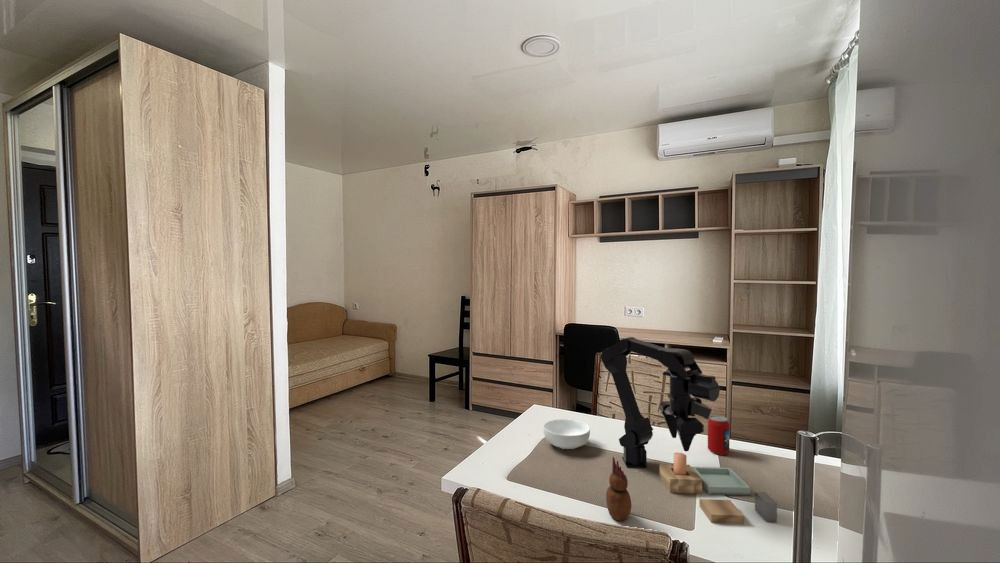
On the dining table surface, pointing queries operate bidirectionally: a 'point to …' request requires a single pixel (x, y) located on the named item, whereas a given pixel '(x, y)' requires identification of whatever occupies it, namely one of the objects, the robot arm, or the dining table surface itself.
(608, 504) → the wooden figurine
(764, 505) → the grey rectangular block
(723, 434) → the beverage can
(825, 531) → the dining table surface
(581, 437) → the cereal bowl
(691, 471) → the socket block
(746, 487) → the tray
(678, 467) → the dowel
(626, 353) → the robot arm
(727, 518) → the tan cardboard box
